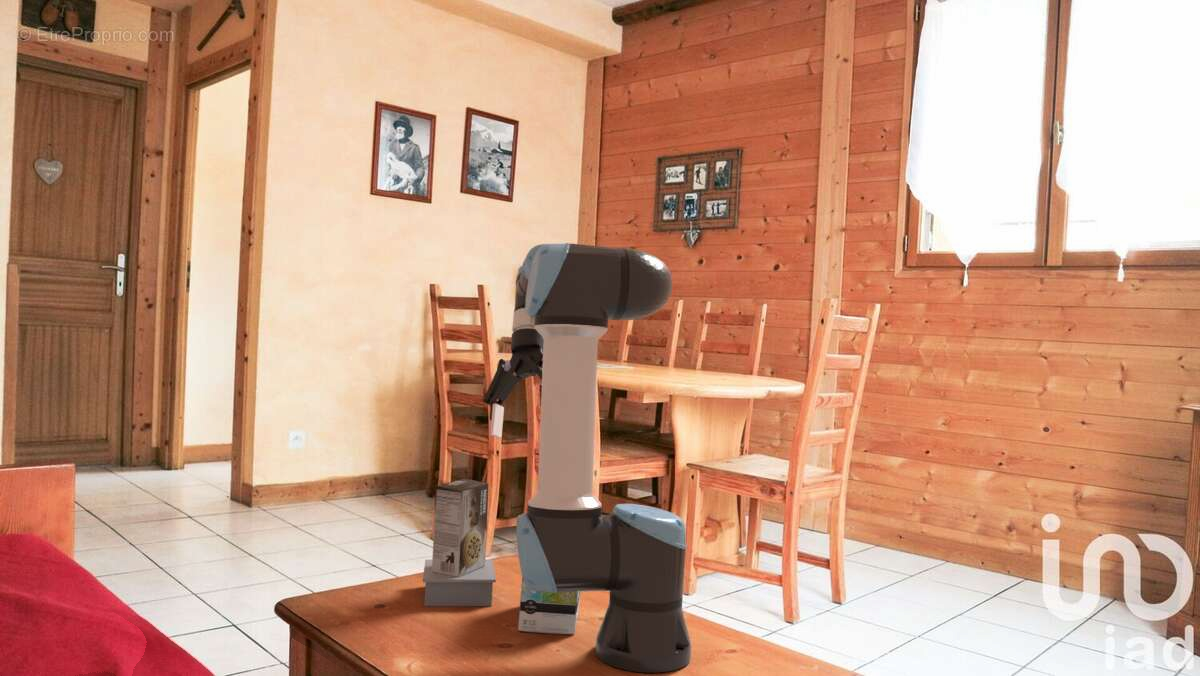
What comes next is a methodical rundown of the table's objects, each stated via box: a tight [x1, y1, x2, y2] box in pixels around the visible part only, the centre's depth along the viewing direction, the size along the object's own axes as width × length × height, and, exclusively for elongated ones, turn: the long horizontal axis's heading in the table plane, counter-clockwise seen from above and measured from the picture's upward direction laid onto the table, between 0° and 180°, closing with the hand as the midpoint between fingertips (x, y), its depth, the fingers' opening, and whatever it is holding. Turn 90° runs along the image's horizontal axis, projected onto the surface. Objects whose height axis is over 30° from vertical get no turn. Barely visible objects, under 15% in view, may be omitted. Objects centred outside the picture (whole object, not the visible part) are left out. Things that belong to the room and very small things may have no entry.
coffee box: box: [431, 478, 489, 577], centre depth 162 cm, size 9×6×16 cm
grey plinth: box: [422, 559, 497, 607], centre depth 162 cm, size 13×13×5 cm
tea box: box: [517, 576, 581, 635], centre depth 152 cm, size 15×10×15 cm, turn 179°
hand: (522, 431), depth 171 cm, fingers open, 13 cm apart
